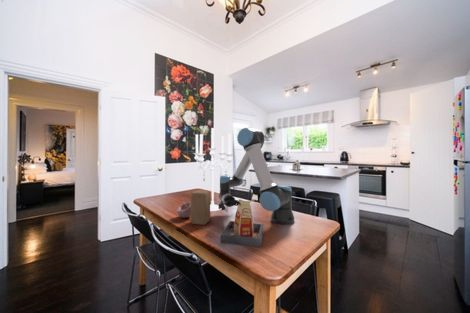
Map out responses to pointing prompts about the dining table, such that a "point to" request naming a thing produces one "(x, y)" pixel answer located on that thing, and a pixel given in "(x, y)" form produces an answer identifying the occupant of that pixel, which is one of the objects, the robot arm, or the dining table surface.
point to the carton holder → (242, 239)
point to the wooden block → (200, 207)
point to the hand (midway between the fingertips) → (238, 208)
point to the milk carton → (244, 219)
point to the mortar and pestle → (184, 210)
